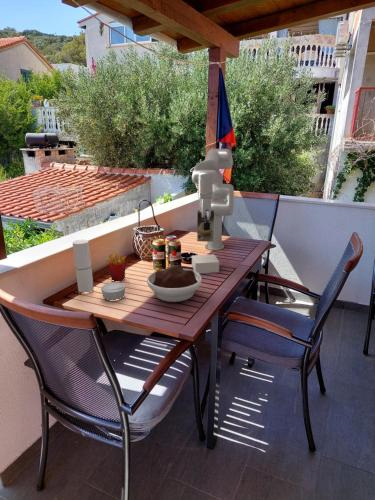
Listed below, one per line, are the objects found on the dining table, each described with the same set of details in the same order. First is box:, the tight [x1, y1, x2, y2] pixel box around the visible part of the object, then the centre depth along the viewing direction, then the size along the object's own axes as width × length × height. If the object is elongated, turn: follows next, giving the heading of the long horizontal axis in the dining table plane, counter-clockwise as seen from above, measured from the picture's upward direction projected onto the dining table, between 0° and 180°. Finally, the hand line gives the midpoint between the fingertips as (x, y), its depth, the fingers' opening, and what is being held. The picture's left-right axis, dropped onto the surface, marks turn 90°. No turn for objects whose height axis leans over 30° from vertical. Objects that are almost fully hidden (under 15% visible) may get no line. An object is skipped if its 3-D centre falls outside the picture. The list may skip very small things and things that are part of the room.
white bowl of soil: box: [146, 264, 203, 303], centre depth 156 cm, size 25×25×15 cm
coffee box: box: [196, 209, 214, 243], centre depth 184 cm, size 9×6×16 cm
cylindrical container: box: [72, 239, 95, 293], centre depth 161 cm, size 7×7×25 cm
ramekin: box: [100, 281, 126, 300], centre depth 158 cm, size 11×11×5 cm
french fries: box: [106, 253, 127, 282], centre depth 174 cm, size 9×8×15 cm
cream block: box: [191, 254, 220, 274], centre depth 191 cm, size 13×13×6 cm
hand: (205, 227), depth 185 cm, fingers closed on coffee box, 7 cm apart
